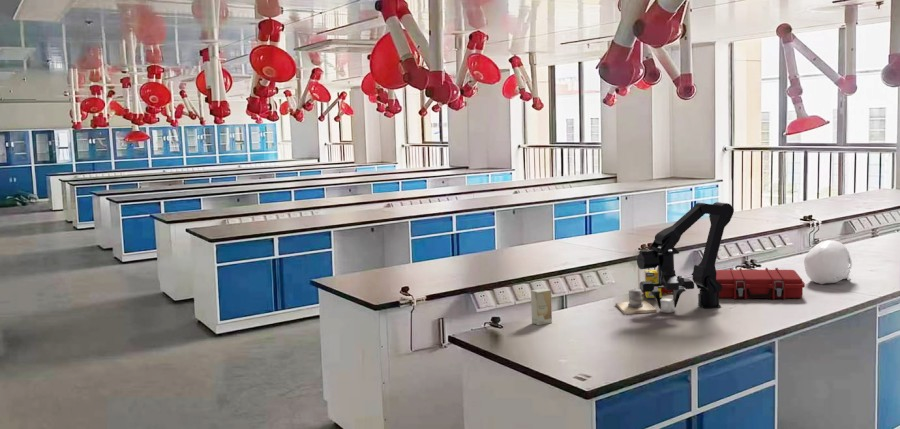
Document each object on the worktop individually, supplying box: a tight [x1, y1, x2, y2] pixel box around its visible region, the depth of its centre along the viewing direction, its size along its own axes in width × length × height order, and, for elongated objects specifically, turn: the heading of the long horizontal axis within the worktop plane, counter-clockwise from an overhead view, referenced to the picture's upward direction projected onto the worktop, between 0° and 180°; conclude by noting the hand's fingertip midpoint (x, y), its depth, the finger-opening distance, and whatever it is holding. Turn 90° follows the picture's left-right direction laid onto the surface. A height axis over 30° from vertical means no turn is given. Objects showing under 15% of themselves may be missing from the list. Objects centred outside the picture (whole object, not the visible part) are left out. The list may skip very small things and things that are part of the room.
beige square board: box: [615, 288, 658, 315], centre depth 278 cm, size 12×14×7 cm
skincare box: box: [530, 288, 553, 326], centre depth 266 cm, size 6×4×12 cm
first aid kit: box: [716, 267, 805, 301], centre depth 290 cm, size 32×23×9 cm
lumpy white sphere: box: [803, 239, 853, 285], centre depth 302 cm, size 16×20×22 cm
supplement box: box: [644, 269, 663, 301], centre depth 293 cm, size 6×6×11 cm
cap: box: [659, 298, 676, 314], centre depth 271 cm, size 5×5×4 cm
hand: (667, 308), depth 271 cm, fingers closed on cap, 5 cm apart
